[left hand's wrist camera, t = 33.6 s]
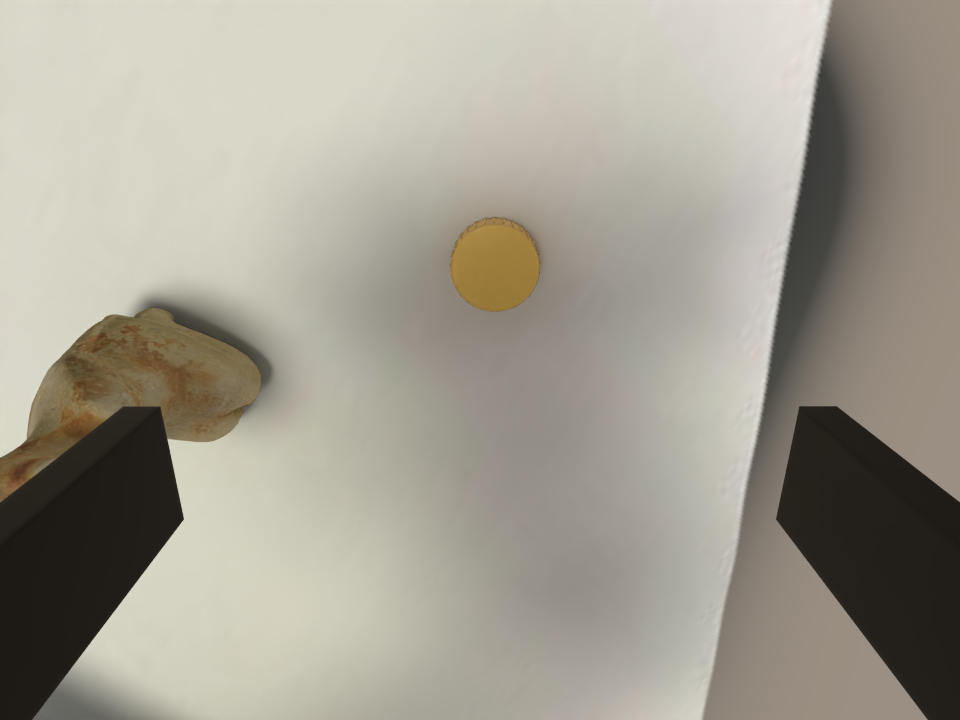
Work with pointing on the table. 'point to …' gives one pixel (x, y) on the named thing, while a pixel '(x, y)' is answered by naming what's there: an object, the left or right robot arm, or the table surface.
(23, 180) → the table surface
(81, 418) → the sculpture
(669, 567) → the table surface
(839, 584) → the left robot arm
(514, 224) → the cap
